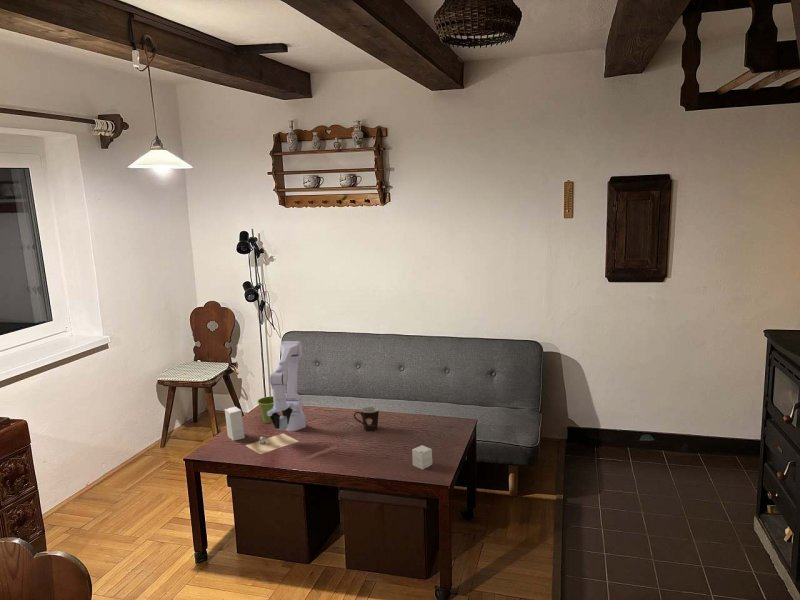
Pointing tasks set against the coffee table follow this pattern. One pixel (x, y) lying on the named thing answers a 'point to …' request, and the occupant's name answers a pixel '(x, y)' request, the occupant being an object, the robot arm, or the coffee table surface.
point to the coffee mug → (369, 418)
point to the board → (272, 443)
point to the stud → (262, 440)
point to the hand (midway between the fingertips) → (281, 426)
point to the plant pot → (266, 407)
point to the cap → (283, 423)
